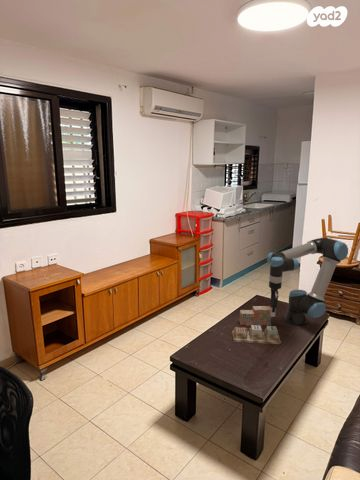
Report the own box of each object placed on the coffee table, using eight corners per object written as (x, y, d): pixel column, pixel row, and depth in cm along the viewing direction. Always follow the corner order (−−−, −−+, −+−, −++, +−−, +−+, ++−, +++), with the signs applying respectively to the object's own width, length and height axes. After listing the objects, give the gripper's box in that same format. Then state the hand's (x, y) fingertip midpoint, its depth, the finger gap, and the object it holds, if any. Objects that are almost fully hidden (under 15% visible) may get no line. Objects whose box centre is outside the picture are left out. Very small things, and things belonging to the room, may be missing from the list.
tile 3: (244, 333, 218) (244, 328, 217) (245, 337, 212) (245, 332, 212) (235, 332, 219) (235, 327, 218) (236, 337, 213) (236, 332, 212)
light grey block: (275, 331, 216) (275, 326, 215) (277, 335, 210) (277, 330, 209) (266, 330, 216) (266, 325, 215) (267, 335, 210) (268, 330, 210)
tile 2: (260, 330, 217) (260, 325, 216) (261, 335, 211) (261, 329, 210) (250, 329, 217) (251, 324, 216) (251, 334, 211) (252, 329, 211)
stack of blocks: (240, 325, 231) (241, 309, 229) (239, 321, 238) (240, 306, 235) (270, 325, 232) (272, 309, 229) (268, 321, 238) (269, 305, 235)
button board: (277, 334, 219) (277, 328, 218) (280, 344, 208) (281, 337, 207) (232, 332, 222) (232, 325, 221) (233, 341, 211) (233, 334, 209)
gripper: (267, 277, 211) (265, 311, 217) (271, 285, 199) (268, 320, 204) (279, 278, 210) (276, 311, 216) (283, 285, 198) (280, 321, 203)
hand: (272, 316), depth 210 cm, fingers closed
